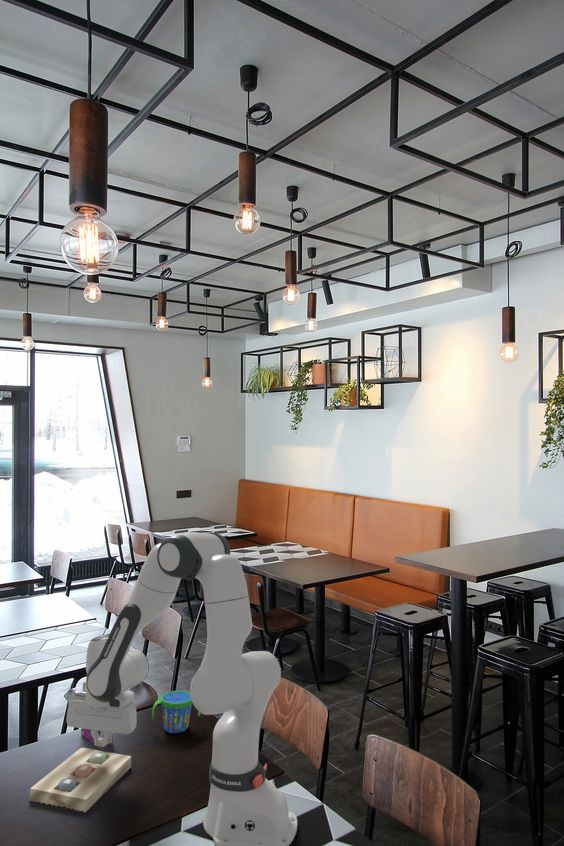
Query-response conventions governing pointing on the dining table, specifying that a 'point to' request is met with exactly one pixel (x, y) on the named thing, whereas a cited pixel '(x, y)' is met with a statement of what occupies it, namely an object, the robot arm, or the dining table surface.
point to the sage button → (98, 758)
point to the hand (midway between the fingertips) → (100, 745)
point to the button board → (80, 780)
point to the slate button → (67, 784)
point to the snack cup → (175, 710)
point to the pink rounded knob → (83, 770)
